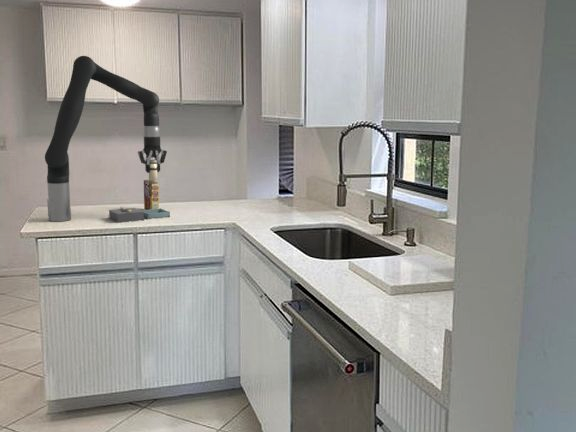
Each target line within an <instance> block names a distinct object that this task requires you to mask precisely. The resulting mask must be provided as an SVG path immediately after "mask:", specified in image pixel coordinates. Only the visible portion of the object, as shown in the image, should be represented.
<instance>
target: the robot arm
mask: <svg viewBox="0 0 576 432" xmlns="http://www.w3.org/2000/svg"><path fill="white" fill-rule="evenodd" d="M91 80H92V81H96V82H98V83H101V84H102V85H104V86H107V87H108V88H110V89H111V90H113V91H115V92H117V93H119V94H121V95H123V96H124V97H127V98H128V99H129V98H130V99H131V100H135V101H137V102H139V103H140V104H142V110H143V133H142V134H143V135H142V136H143V150H140V151H137V155H138V157H139V160H140V162H141V164H143V165H145V169H144V170H145V172H146V173H147V174H149V173H150V165H149V163H150V160H152V158H154V160H157V173H160V172H161V164H164V163H165V159H166V157H167V153H168V151H167V150H165V149H162V148H161V129H160V116H159V113H158V112H159V103H160V98H159V95H158V94H157V93H156V92H154V91H152V90H150V89H147V88H145V87H142V86H140V85H139V84H137V83H136V82H133V81H131V80H129V79H127V78H125V77H123V76H120V75H119V74H115V73H114V72H111V71H109V70H107V69H105V68H104V67H102V66H101V65H99V64H97V63H96V62H95V61H94V60H93V59H92V57H90V56H87V55H81V56H78V57H77V58H75V60H74V61H73V65H72V71H71V76H70V81H69V84H68V87H67V88H66V89H67V90H66V91H65V94H64V96H63V98H62V101H61V104H60V107H59V111H58V113H57V116H56V122H55V126H54V130H53V131H54V132H53V134H52V138H51V141H50V143H49V146H48V147H47V150H46V151H45V154H44V161H45V163H46V164H47V165H46V166H47V175H46V180H47V181H46V182H47V183H46V184H47V199H46V202H47V216H48V217H47V219H48V220H49V221H50V222H67V221H70V220H72V209H71V191H70V157H69V153H68V150H69V146H70V142H71V139H72V137H73V135H74V133H75V131H76V129H77V127H78V125H79V122H80V119H81V117H82V114H83V110H84V105H85V99H86V94H87V89H88V86H89V84H90V82H91ZM160 154H161V156H160ZM144 155H145V157H144Z"/></svg>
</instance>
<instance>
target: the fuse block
mask: <svg viewBox="0 0 576 432" xmlns="http://www.w3.org/2000/svg"><path fill="white" fill-rule="evenodd" d="M141 210H142V209H137V208H135V207H129V208H125V206H120V208H118V209H117V208H116V209H109V210H108V214H109V215H108V218H110V220H111V221H114V222H116V223H117V224H118V223H119V224H120V223H127V222H128V223H130V222H129V221H131V222H138V221H139V220H141V221H144V220H145V218H144V215H143V211H141ZM139 222H140V221H139Z"/></svg>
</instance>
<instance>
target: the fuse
mask: <svg viewBox="0 0 576 432" xmlns="http://www.w3.org/2000/svg"><path fill="white" fill-rule="evenodd" d="M149 165H150V173H148V180H149V184H158V181H159V180H158V178H159V177H158V172H157V160H155V159H151V160H150V163H149Z"/></svg>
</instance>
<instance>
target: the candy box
mask: <svg viewBox="0 0 576 432" xmlns="http://www.w3.org/2000/svg"><path fill="white" fill-rule="evenodd" d="M159 185H160V182H159V180H158V184H149V179H143V207H144V209H143V210H149V209H160V202H159V201H160V199H159V198H160V193H159V192H160V191H159V188H160V187H159Z"/></svg>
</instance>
